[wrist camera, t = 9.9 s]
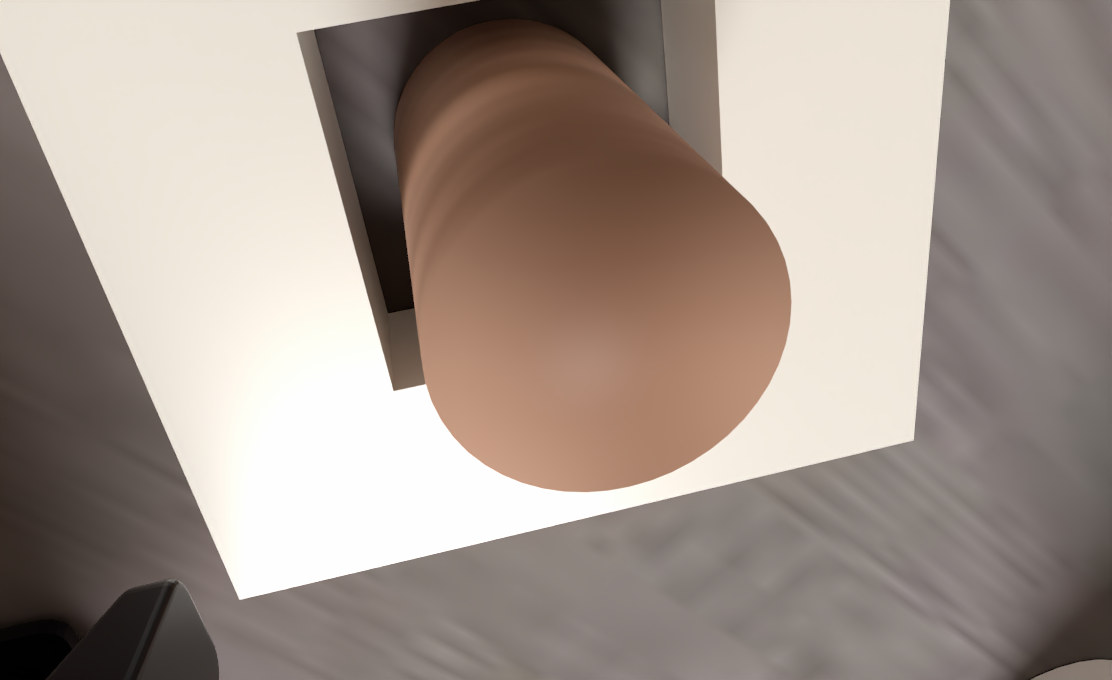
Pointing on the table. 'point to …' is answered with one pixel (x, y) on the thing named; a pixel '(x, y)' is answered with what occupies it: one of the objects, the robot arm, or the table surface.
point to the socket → (392, 339)
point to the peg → (576, 266)
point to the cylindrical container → (1080, 671)
